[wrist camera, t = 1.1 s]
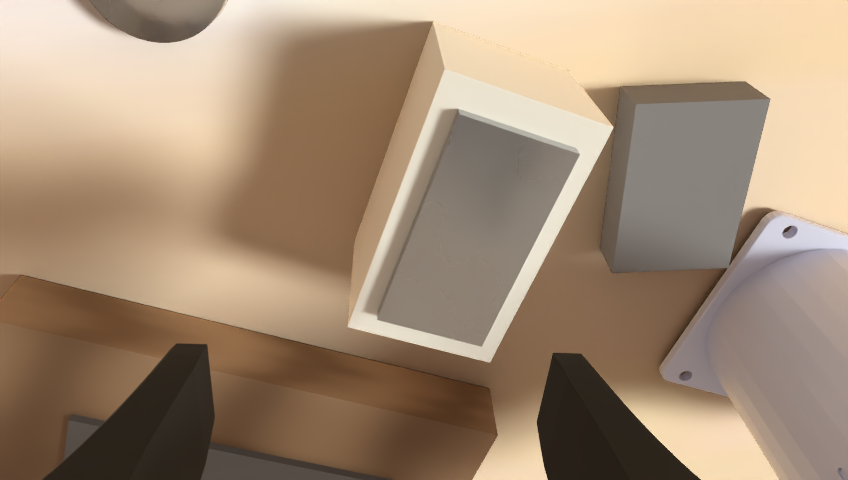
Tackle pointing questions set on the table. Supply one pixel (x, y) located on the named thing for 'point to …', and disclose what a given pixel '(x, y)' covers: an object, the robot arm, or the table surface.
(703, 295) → the table surface
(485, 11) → the table surface
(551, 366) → the robot arm
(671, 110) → the block
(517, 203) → the housing
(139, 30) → the round metal disc
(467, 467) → the stand
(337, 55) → the table surface
